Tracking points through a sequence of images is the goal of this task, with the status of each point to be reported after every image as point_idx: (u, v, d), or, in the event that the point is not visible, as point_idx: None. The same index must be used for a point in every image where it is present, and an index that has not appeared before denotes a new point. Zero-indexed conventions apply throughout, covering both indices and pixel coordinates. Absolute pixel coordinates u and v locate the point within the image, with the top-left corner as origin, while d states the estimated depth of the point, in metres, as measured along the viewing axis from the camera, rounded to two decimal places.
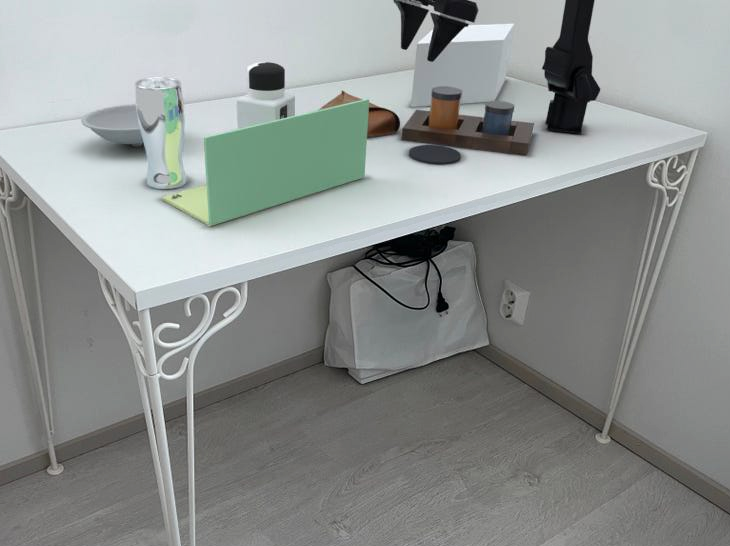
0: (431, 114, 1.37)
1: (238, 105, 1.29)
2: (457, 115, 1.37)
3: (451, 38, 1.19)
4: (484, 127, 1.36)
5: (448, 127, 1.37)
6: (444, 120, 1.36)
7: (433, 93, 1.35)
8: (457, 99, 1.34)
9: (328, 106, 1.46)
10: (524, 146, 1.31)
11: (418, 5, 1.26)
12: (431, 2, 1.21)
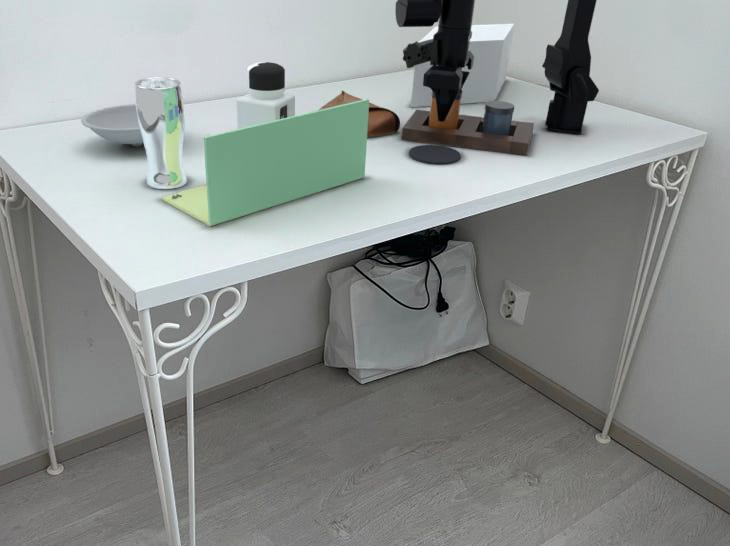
0: (431, 114, 1.37)
1: (238, 105, 1.29)
2: (457, 115, 1.37)
3: (452, 100, 1.32)
4: (484, 127, 1.36)
5: (448, 127, 1.37)
6: None
7: (433, 93, 1.35)
8: (457, 99, 1.34)
9: (328, 106, 1.46)
10: (524, 146, 1.31)
11: None
12: None
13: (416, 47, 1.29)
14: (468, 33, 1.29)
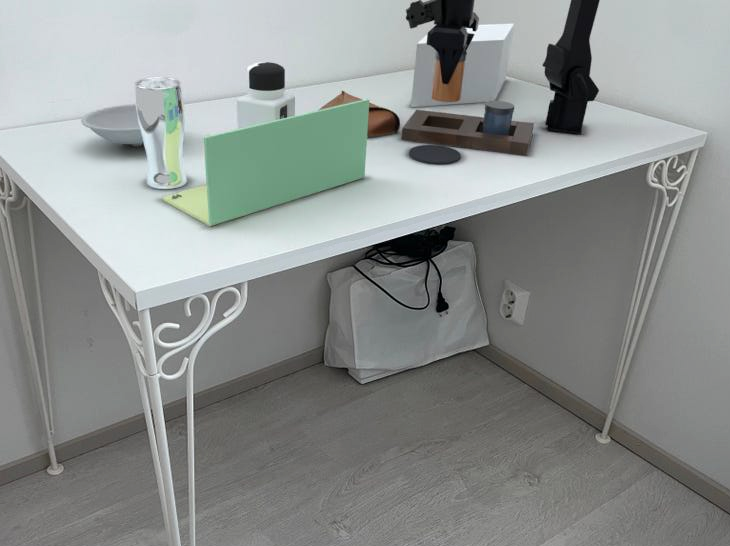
0: (435, 77, 1.33)
1: (238, 105, 1.29)
2: (461, 78, 1.33)
3: (456, 61, 1.28)
4: (484, 127, 1.36)
5: (452, 90, 1.33)
6: (448, 83, 1.32)
7: (437, 54, 1.31)
8: (461, 61, 1.31)
9: (328, 106, 1.46)
10: (524, 146, 1.31)
11: None
12: None
13: (419, 5, 1.25)
14: None
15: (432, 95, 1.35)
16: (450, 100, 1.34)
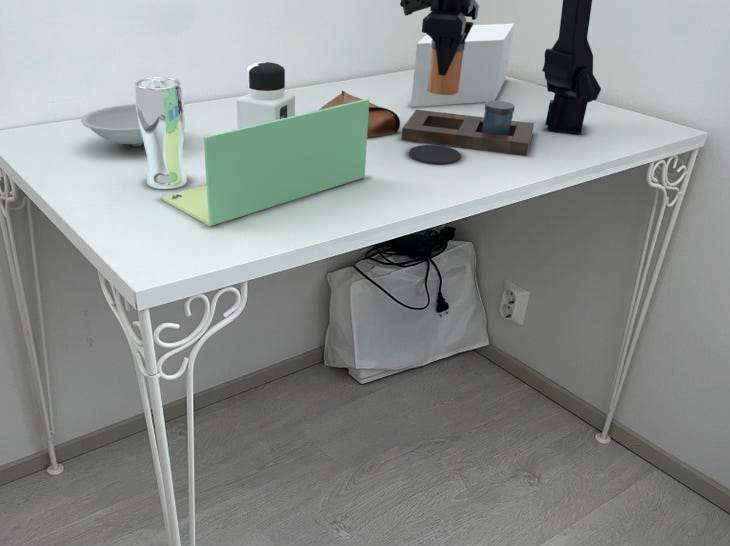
0: (431, 68, 1.25)
1: (238, 105, 1.29)
2: (459, 69, 1.24)
3: (454, 51, 1.20)
4: (484, 127, 1.36)
5: (449, 82, 1.24)
6: None
7: (433, 43, 1.23)
8: (459, 50, 1.22)
9: (328, 106, 1.46)
10: (524, 146, 1.31)
11: None
12: None
13: None
14: None
15: (428, 87, 1.27)
16: (447, 93, 1.25)
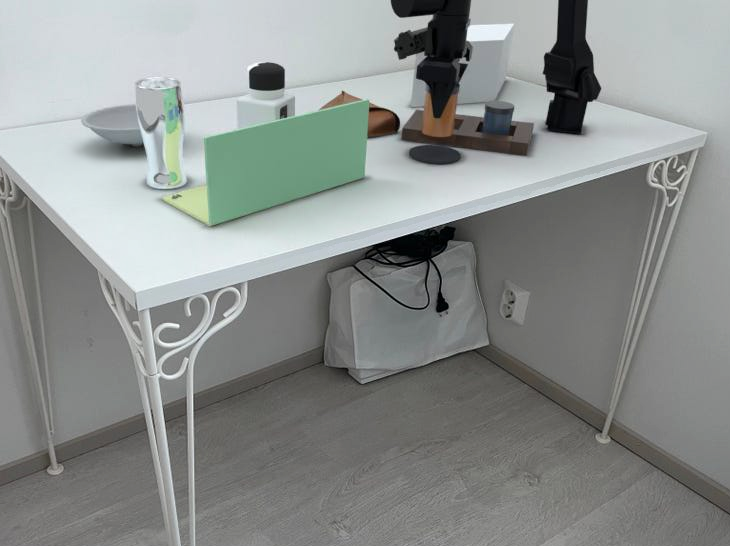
0: (425, 110, 1.25)
1: (238, 105, 1.29)
2: (454, 111, 1.24)
3: (448, 95, 1.20)
4: (484, 127, 1.36)
5: (444, 124, 1.24)
6: (440, 117, 1.24)
7: (428, 87, 1.23)
8: (454, 94, 1.22)
9: (328, 106, 1.46)
10: (524, 146, 1.31)
11: None
12: None
13: (408, 36, 1.17)
14: (466, 20, 1.16)
15: (423, 129, 1.27)
16: (442, 135, 1.25)
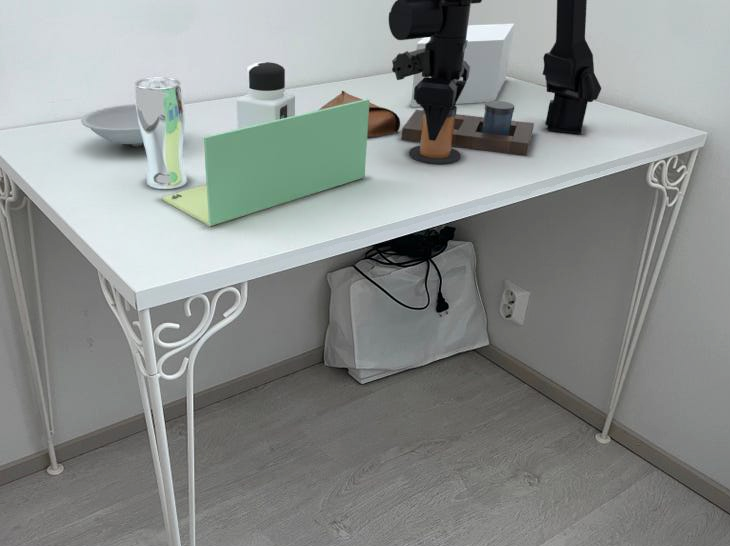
0: (423, 132, 1.27)
1: (238, 105, 1.29)
2: (451, 133, 1.26)
3: (444, 118, 1.20)
4: (484, 127, 1.36)
5: (441, 146, 1.27)
6: (437, 139, 1.26)
7: None
8: (451, 116, 1.24)
9: (328, 106, 1.46)
10: (524, 146, 1.31)
11: None
12: None
13: (406, 57, 1.19)
14: (463, 42, 1.18)
15: (421, 150, 1.29)
16: (439, 156, 1.27)
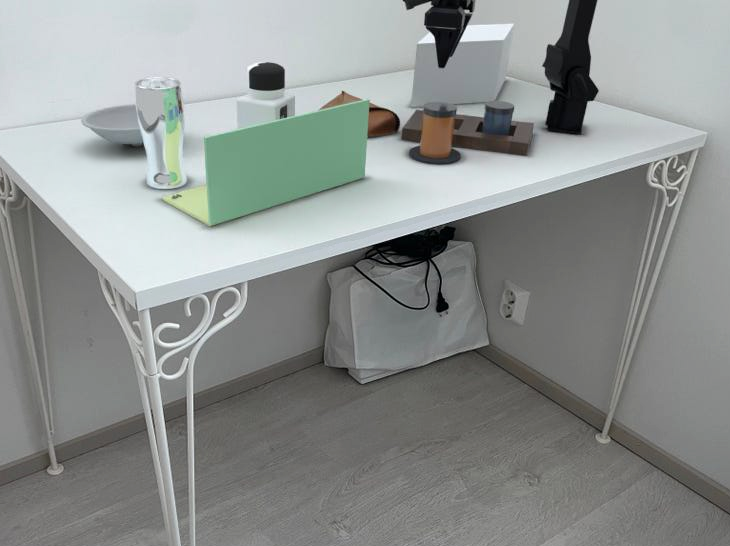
0: (423, 132, 1.27)
1: (238, 105, 1.29)
2: (451, 133, 1.26)
3: (452, 44, 1.26)
4: (484, 127, 1.36)
5: (441, 146, 1.27)
6: (437, 139, 1.26)
7: (425, 109, 1.25)
8: (451, 116, 1.24)
9: (328, 106, 1.46)
10: (524, 146, 1.31)
11: None
12: None
13: None
14: None
15: (421, 150, 1.29)
16: (439, 156, 1.27)
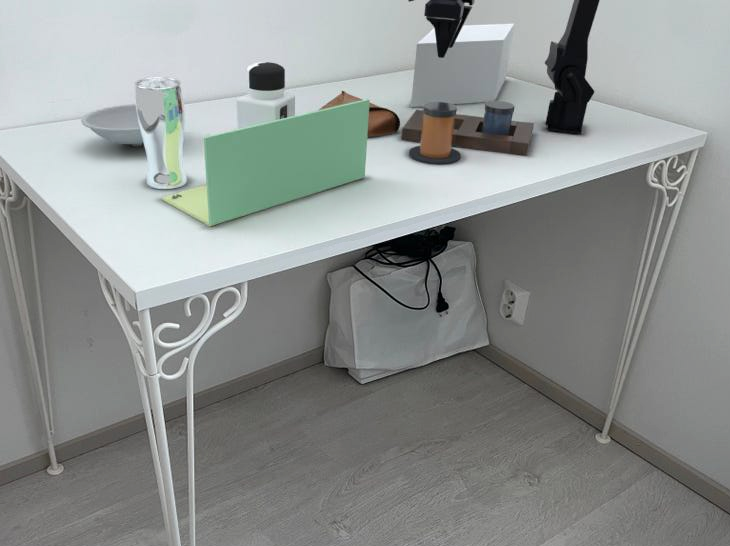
0: (423, 132, 1.27)
1: (238, 105, 1.29)
2: (451, 133, 1.26)
3: (451, 35, 1.31)
4: (484, 127, 1.36)
5: (441, 146, 1.27)
6: (437, 139, 1.26)
7: (425, 109, 1.25)
8: (451, 116, 1.24)
9: (328, 106, 1.46)
10: (524, 146, 1.31)
11: None
12: None
13: None
14: None
15: (421, 150, 1.29)
16: (439, 156, 1.27)
